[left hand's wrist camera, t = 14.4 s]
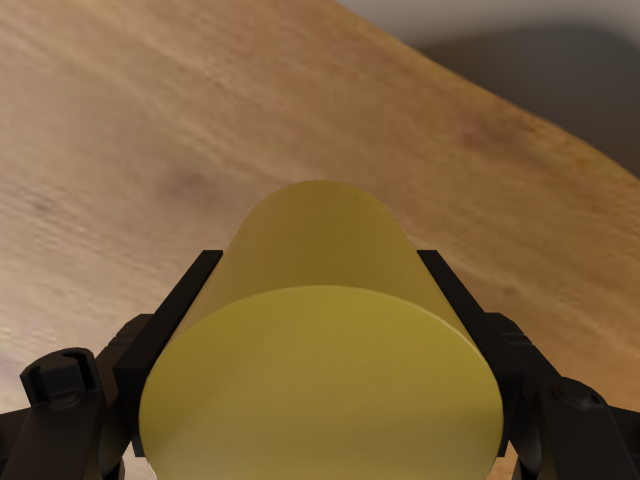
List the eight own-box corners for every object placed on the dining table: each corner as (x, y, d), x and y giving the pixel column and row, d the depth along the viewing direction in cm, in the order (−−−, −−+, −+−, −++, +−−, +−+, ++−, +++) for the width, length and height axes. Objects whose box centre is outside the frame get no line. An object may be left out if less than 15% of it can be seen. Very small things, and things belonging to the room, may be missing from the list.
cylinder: (202, 285, 16) (80, 478, 8) (295, 141, 14) (259, 201, 6) (340, 363, 17) (357, 591, 9) (443, 245, 15) (585, 411, 7)
